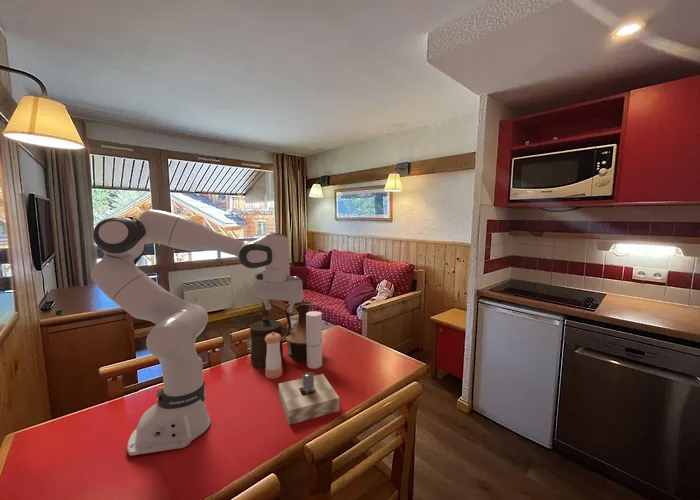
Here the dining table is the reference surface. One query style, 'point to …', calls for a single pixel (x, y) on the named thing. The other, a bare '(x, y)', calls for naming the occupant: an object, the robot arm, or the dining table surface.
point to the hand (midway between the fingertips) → (278, 310)
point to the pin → (308, 383)
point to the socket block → (307, 400)
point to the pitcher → (298, 331)
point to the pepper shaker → (273, 356)
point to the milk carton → (293, 324)
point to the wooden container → (263, 340)
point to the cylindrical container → (314, 339)
